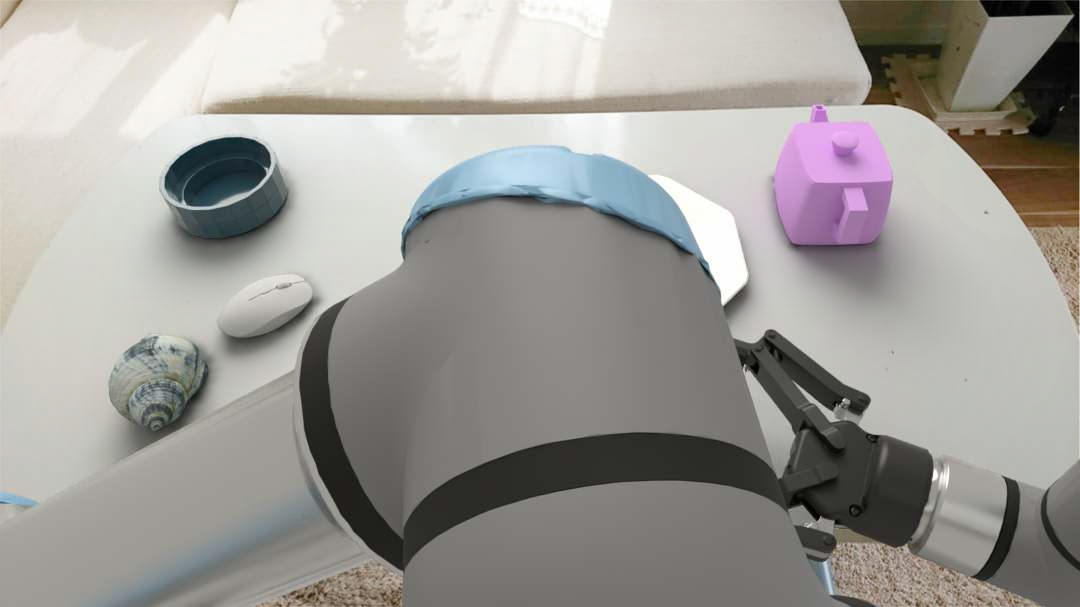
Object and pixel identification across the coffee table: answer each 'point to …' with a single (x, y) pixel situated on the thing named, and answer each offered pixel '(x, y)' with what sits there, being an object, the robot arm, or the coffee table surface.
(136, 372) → the seashell
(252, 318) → the computer mouse
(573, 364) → the robot arm
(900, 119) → the coffee table surface
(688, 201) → the plate
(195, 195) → the bowl
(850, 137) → the teapot
